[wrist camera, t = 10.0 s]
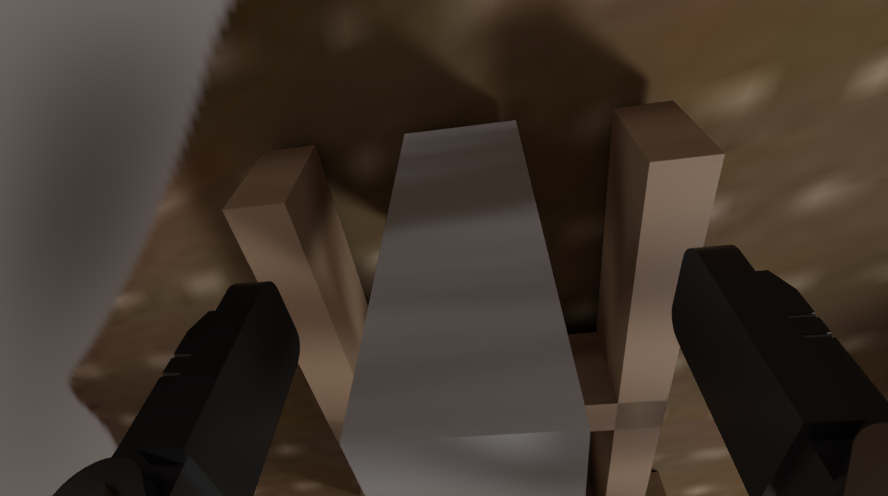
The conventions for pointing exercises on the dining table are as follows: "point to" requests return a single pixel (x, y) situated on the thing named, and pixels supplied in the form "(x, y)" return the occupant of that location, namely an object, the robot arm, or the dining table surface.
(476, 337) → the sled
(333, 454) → the dining table surface
